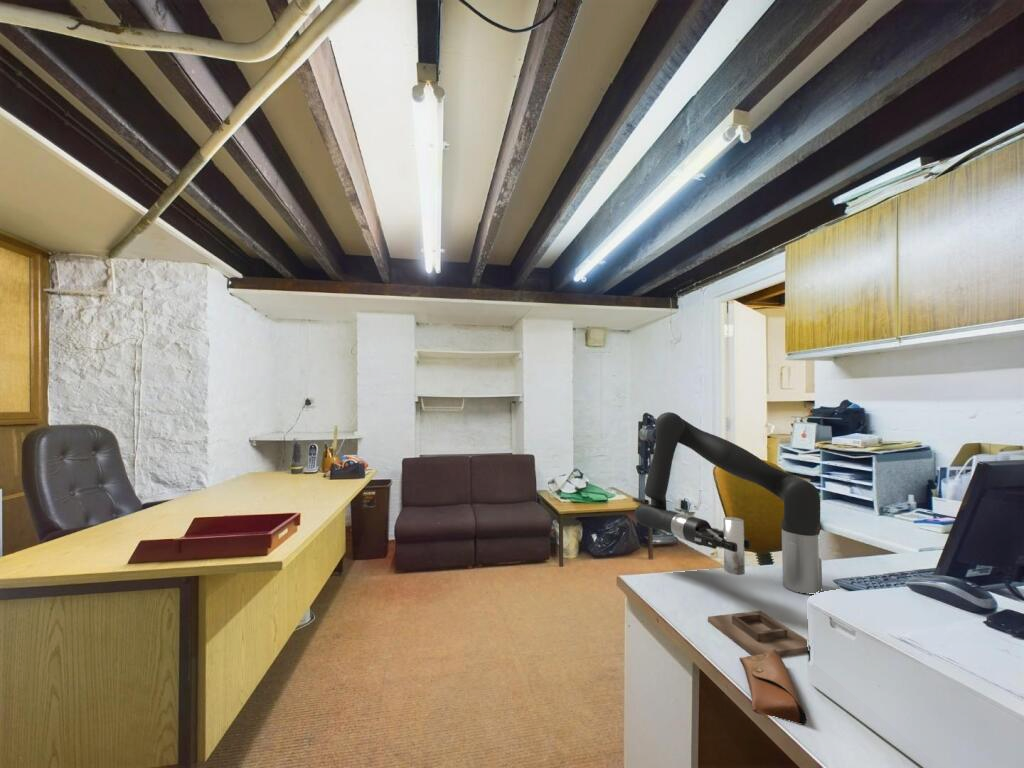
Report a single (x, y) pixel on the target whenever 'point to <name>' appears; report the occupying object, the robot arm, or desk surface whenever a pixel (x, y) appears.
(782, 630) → the lamp base
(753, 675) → the sunglasses case
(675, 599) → the desk surface
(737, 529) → the column
